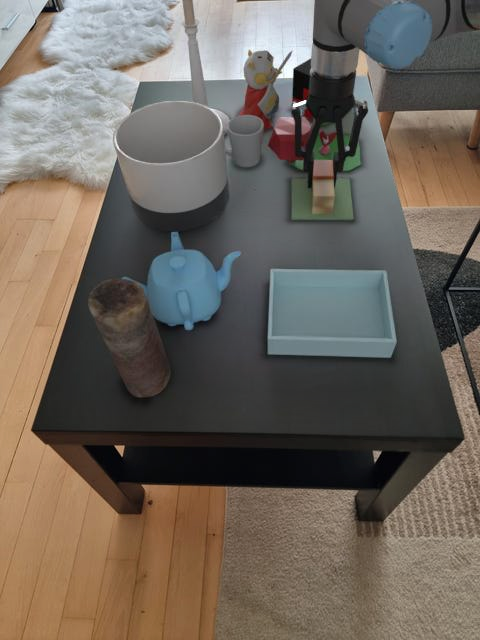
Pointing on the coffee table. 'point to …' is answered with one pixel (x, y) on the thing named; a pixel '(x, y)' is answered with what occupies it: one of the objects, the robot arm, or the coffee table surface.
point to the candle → (131, 335)
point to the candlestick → (197, 60)
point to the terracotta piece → (323, 170)
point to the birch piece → (322, 196)
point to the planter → (173, 164)
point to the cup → (245, 139)
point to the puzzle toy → (302, 85)
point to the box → (330, 313)
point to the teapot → (185, 285)
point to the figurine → (261, 86)
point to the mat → (303, 206)
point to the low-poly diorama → (323, 148)
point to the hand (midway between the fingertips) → (321, 183)
